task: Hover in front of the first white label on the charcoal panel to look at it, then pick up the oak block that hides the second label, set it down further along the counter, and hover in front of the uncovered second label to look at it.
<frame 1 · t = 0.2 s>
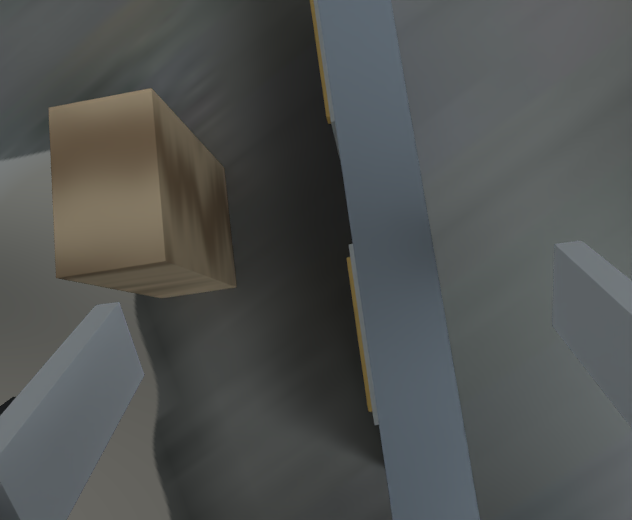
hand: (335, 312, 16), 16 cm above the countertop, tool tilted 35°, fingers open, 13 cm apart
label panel: (379, 218, 32), on the countertop
oak block: (193, 232, 34), on the countertop
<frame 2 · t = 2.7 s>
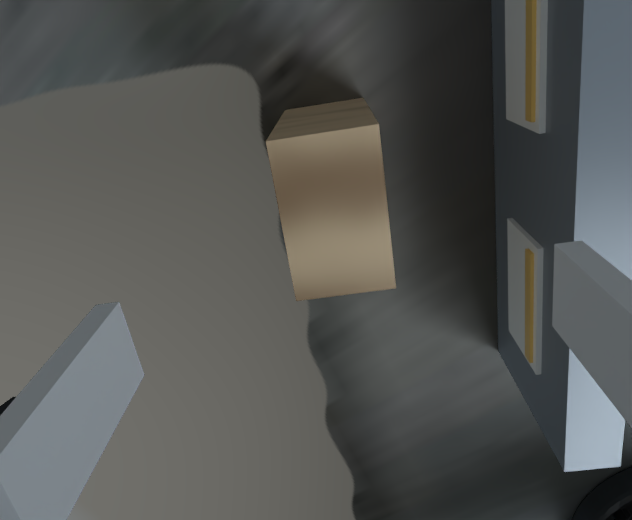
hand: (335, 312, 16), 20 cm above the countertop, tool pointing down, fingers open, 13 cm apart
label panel: (517, 154, 34), on the countertop
oak block: (332, 165, 34), on the countertop
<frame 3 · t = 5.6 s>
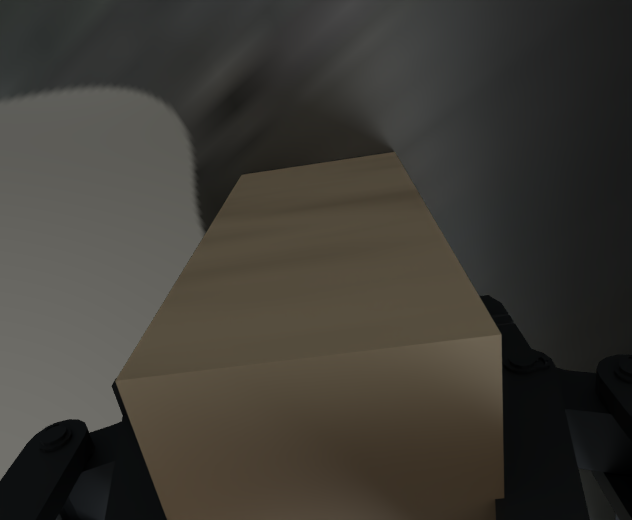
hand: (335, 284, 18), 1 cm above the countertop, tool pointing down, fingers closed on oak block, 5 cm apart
oak block: (334, 274, 18), on the countertop, touching gripper
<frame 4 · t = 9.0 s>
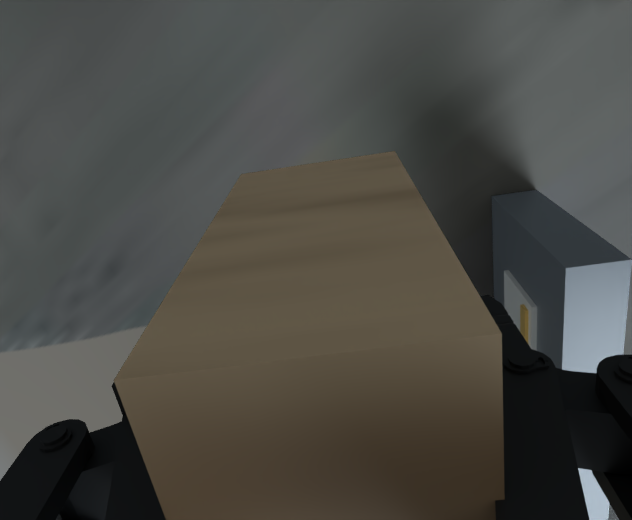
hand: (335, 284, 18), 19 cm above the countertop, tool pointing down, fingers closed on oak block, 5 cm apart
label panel: (514, 374, 41), on the countertop
oak block: (334, 274, 18), point 18 cm above the countertop, touching gripper
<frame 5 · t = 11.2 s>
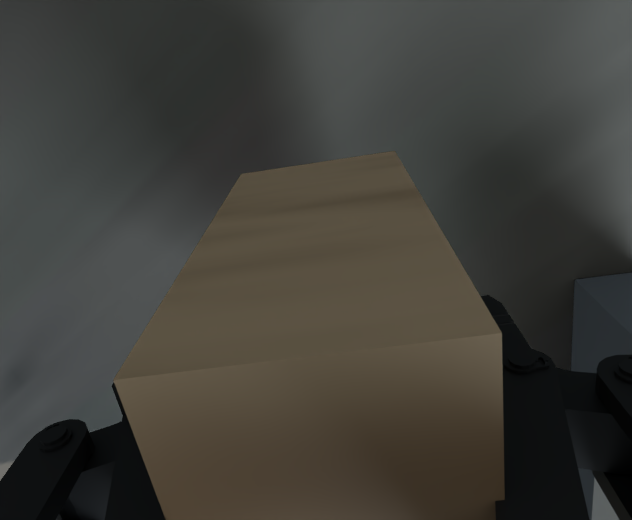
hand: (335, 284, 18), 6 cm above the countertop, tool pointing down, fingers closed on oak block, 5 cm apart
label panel: (591, 513, 29), on the countertop
oak block: (334, 274, 18), point 5 cm above the countertop, touching gripper
when the fingers open (2 cm above the countertop, at t = 12.7 s): oak block drops 1 cm, on the countertop.
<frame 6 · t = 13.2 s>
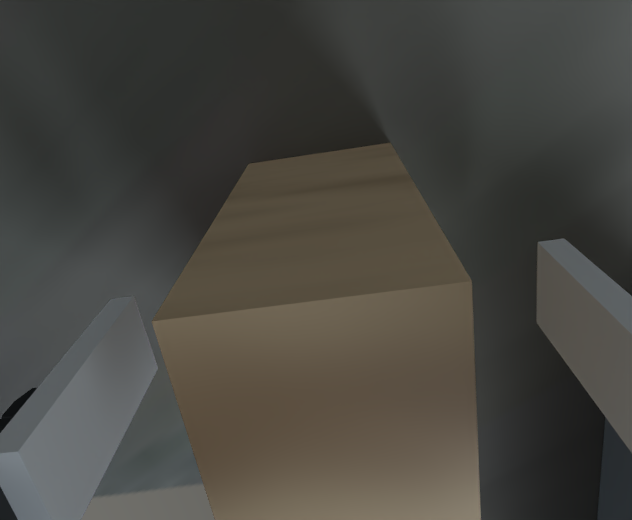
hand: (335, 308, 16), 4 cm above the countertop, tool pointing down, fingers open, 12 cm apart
oak block: (334, 257, 20), on the countertop
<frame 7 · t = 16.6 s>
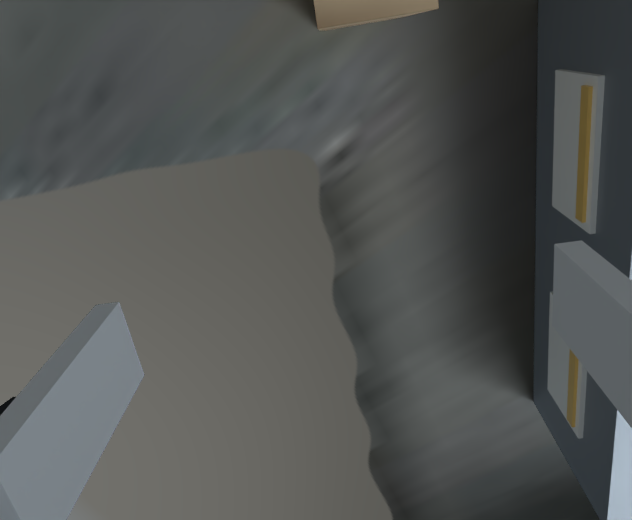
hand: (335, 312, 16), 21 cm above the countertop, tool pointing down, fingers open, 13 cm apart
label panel: (557, 227, 36), on the countertop
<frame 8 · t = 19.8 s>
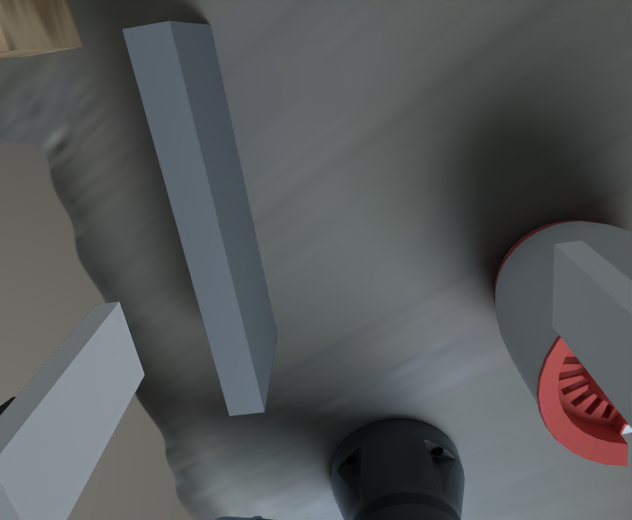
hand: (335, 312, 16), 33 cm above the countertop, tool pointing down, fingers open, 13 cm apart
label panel: (232, 201, 48), on the countertop
citrus juicer: (555, 282, 51), on the countertop
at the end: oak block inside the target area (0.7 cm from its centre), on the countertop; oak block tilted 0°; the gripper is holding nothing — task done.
